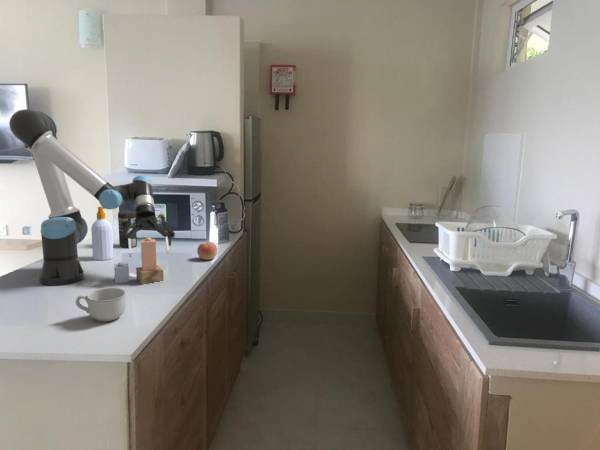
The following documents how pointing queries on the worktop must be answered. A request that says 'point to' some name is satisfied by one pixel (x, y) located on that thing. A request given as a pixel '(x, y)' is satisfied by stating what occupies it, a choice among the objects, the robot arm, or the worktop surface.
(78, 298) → the teacup
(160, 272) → the base block
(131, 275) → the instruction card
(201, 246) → the apple
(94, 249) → the soap bottle
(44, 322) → the worktop surface
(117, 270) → the slate brick
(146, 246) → the terracotta brick
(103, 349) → the worktop surface
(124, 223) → the coffee jar
